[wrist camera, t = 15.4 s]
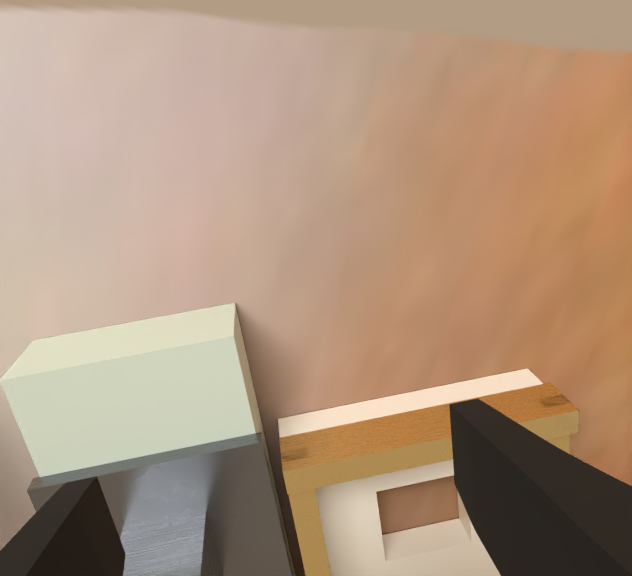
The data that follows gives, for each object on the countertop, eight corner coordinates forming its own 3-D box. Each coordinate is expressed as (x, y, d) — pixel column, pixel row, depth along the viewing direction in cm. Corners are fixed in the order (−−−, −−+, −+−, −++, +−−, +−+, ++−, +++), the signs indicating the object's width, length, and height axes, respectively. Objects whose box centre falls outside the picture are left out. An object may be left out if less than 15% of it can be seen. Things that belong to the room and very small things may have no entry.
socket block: (527, 368, 23) (557, 398, 21) (529, 556, 27) (554, 598, 25) (277, 418, 22) (281, 455, 20) (316, 604, 26) (323, 652, 24)
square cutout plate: (235, 302, 20) (233, 336, 18) (300, 600, 26) (308, 661, 23) (33, 340, 20) (-1, 380, 17) (145, 635, 26) (133, 701, 23)
